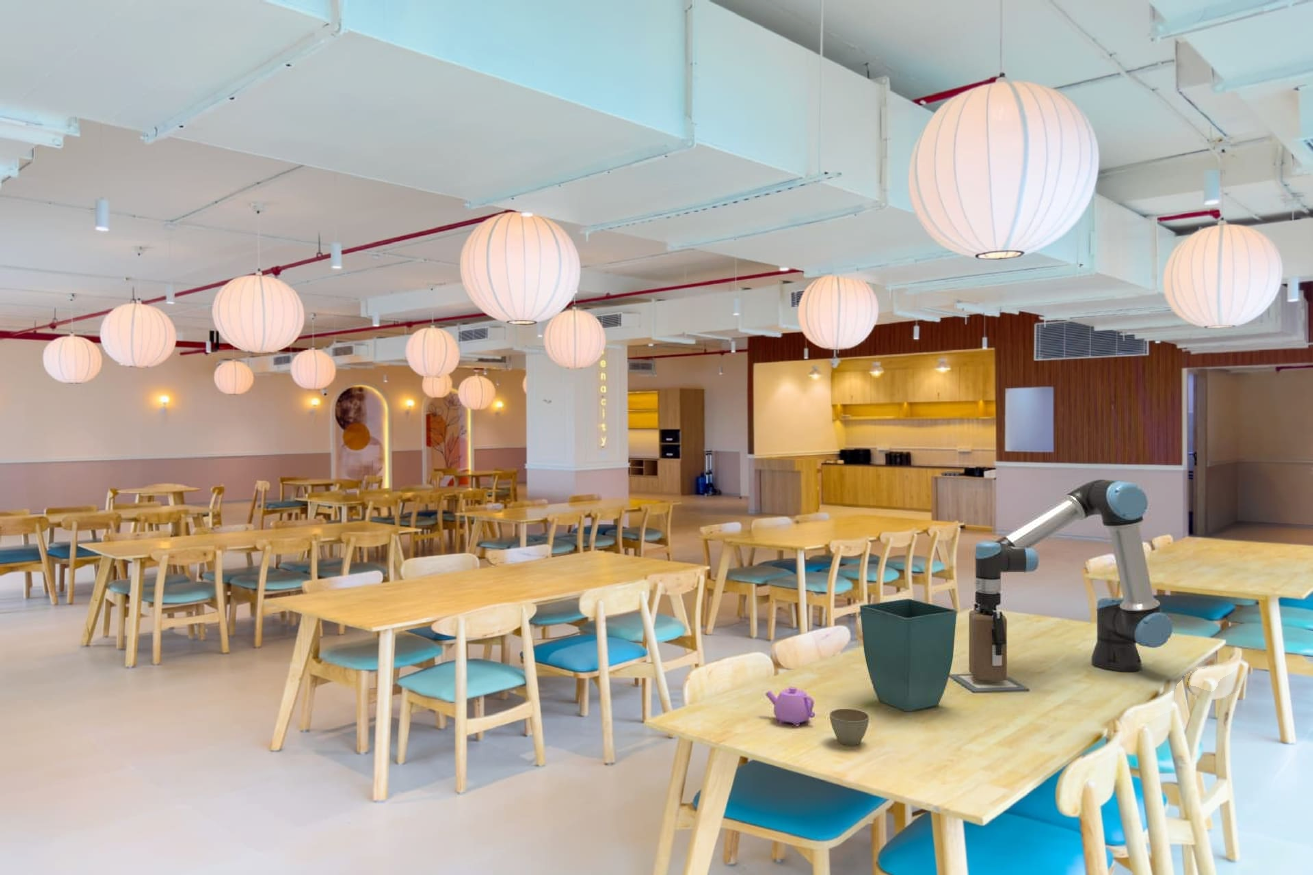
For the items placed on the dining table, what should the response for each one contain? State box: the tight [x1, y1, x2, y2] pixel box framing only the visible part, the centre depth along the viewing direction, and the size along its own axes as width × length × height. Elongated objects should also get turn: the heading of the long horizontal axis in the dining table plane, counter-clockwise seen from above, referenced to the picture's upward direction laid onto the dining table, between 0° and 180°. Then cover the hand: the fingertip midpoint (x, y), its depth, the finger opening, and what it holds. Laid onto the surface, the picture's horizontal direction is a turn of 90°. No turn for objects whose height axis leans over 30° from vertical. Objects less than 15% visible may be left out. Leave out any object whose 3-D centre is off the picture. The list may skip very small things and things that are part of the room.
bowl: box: [829, 708, 870, 746], centre depth 224 cm, size 10×10×7 cm
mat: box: [949, 673, 1031, 694], centre depth 275 cm, size 18×18×1 cm
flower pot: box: [859, 598, 958, 712], centre depth 255 cm, size 20×20×28 cm
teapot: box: [765, 686, 816, 726], centre depth 241 cm, size 10×15×9 cm
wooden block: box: [968, 609, 1008, 681], centre depth 275 cm, size 10×10×20 cm
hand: (987, 660), depth 275 cm, fingers closed on wooden block, 11 cm apart
